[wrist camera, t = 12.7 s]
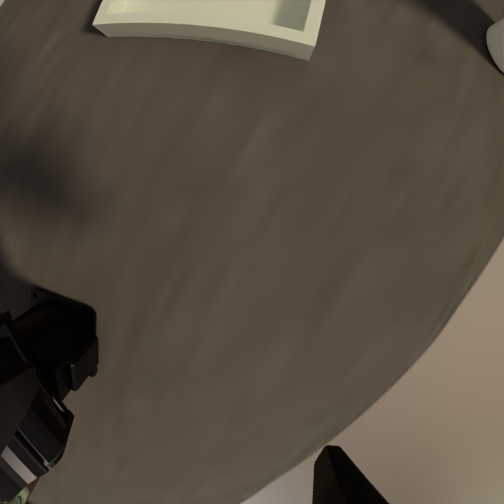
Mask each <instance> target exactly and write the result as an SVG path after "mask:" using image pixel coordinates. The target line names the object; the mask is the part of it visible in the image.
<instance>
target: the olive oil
mask: <svg viewBox="0 0 504 504" xmlns="http://www.w3.org/2000/svg"><path fill="white" fill-rule="evenodd" d="M39 478H40V477H38V478H36V479H35V480H33V481H32V482H30V483H29V484H28V485H27V486H26V487H25V488H23V489H22V490H21V492H20V493H19V494H18V495H17V496H16V497H15V498H14V499H13V500H10V501H6V502H1V503H0V504H26V502H27V500H28V498H29V496H30V495H31V493H32V491H33V489H34V487H35V485H36V484H37V482H38V480H39Z"/></svg>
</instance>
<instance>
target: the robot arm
mask: <svg viewBox="0 0 504 504" xmlns="http://www.w3.org/2000/svg"><path fill="white" fill-rule="evenodd" d="M36 294H37V295H36ZM31 305H32V308H30V309H29V310H28V311H26V312H25V313H23V314H22V315H20V316H19V317H18V318H16V319H15V320H13V321H12V319H11V318H12V316H11V314H10V312H9V310H8V311H6V312H4V313H2V314H1V313H0V503H1V502H6V501H10V500H13V499H14V498H15V497H16V496H17V495H18V494H19V493H20V492H21V490H22V489H23V488H25V487H26V486H27V485H28V484H29V483H30V482H32V481H33V480H35V479H36V478H38V477H40V476H42V475H44V474H46V473H48V471H49V470H50V469H51V468H53V467H54V466H55V465H56V464H57V463H58V462H59V460H60V459H61V457H62V456H63V453H64V450H65V447H66V443H67V439H68V436H69V433H70V429H71V426H72V422H73V419H74V415H73V414H72V412H71V411H70V410H68V409H67V408H66V406H65V405H64V403H63V402H62V401H63V399H64V398H65V397H66V396H67V394H68V393H69V392H70V391H71V390H73V391H77V390H78V389H79V388H80V386H81V385H82V384H83V382H84V381H85V380H86V378H87V377H88V376H91V377H94V376H95V375H96V373H97V364H98V363H99V359H98V338H97V336H96V312H95V311H94V310H93V309H91V308H89V307H86V306H83V305H80V304H78V303H75V302H72V301H70V300H67V299H64V298H62V297H59V296H56V295H54V294H51V293H49V292H46V291H44V290H41V289H39V288H34V289H33V290H32V291H31ZM88 313H89V314H90V315H91V317H90V316H89V315H88ZM312 504H389V503H388V502H387V500H386V499H385V498H384V497H383V496H382V495H381V494H380V493H379V491H378V490H377V489H376V488H375V487H374V486H373V485H372V483H370V481H369V480H368V479H367V478H366V477H365V475H364V474H363V473H362V472H361V471H360V470H359V469H358V467H357V466H356V465H355V464H354V463H353V461H352V460H351V459H350V458H349V457H348V455H347V454H346V453H345V452H344V451H343V450H342V448H341V447H339V446H333V445H327V446H325V447H324V448H323V450H322V452H321V453H320V455H319V456H318V458H317V460H316V461H315V465H314V481H313V502H312Z"/></svg>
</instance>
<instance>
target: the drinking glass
mask: <svg viewBox="0 0 504 504" xmlns="http://www.w3.org/2000/svg"><path fill="white" fill-rule="evenodd" d="M486 42H487V47H488V50H489V52H490V55H491V57H492V58H493V60H494V62H495V63H496V65H497V66H498V68H499V69H500V70H501V71H502V72H503V73H504V18H503V19H502V20H500V21H498V22H496V23H494V24H493V25H491V26H490V27H489V28H488V30H487V33H486Z"/></svg>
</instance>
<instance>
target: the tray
mask: <svg viewBox="0 0 504 504" xmlns="http://www.w3.org/2000/svg"><path fill="white" fill-rule="evenodd" d="M325 1H326V0H103V1H102V3H101V5H100V8H99V10H98V12H97V15H96V17H95V19H94V22H93V24H92V25H93V26H94V27H96V28H97V29H98V30H100V31H101V32H102V33H104V34H105V35H106V36H107V37H160V38H177V39H189V40H199V41H208V42H216V43H223V44H230V45H236V46H243V47H248V48H254V49H259V50H264V51H269V52H274V53H278V54H282V55H287V56H291V57H295V58H299V59H303V60H307V61H309V59H310V57H311V55H312V52H313V50H314V48H315V44H316V40H317V36H318V32H319V27H320V23H321V18H322V14H323V10H324V5H325Z"/></svg>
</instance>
